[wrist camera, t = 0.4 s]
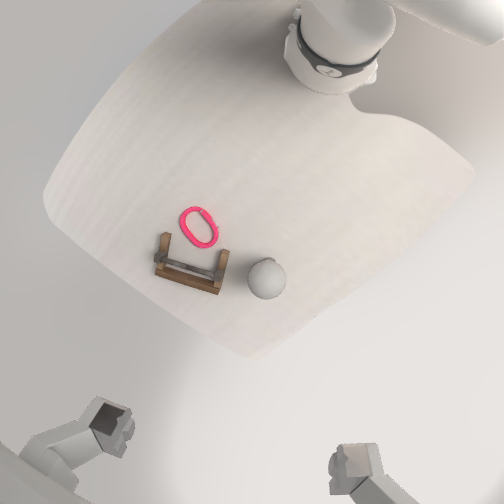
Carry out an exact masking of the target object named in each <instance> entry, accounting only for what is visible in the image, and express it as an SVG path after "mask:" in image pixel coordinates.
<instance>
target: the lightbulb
mask: <svg viewBox="0 0 504 504" xmlns="http://www.w3.org/2000/svg"><path fill="white" fill-rule="evenodd" d="M248 286H249V288H250V290H251V292H252V293H253V294H254V295H255V296H257V297H259V298H261V299H272V298H275V297H277V296H278V295H280V294H281V293H282V292H283V290H284V288H285V286H286V274H285V272H284V270H283V268H282V267H281V266H280V265H279V264H277V263H276V262H275V260H274V259H272V258H266V259H264V260H263V261H261V262H259V263H257V264H256V265H254V266H253V267H252V268H251V270H250V272H249V274H248Z"/></svg>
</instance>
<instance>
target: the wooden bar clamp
mask: <svg viewBox="0 0 504 504" xmlns="http://www.w3.org/2000/svg"><path fill="white" fill-rule="evenodd" d="M170 239H171V234H170V233H167V232H165V233H164V234H162V236H161V242H160V249H159V251H158V252H157V253H156V254H155V257H154V262H156V263H157V269H156V271H155V275H156V276H159V277H162V278H165V279H169V280H172V281H175V282H178V283H181V284H184V285H187V286H190V287H193V288H197V289H200V290H203V291H206V292H209V293H213V294H216V295H218V293H219V291H220V289H221V285H222V281H223V277H224V273H225V269H226V265H227V261H228V257H229V253H230V251H228V250H225V249H223V251H222V252H221V257H220V261H219V265H218V269H217V270H216V272H215V273H213V272H210V271H207V270H204V269H200V268H197V267H194V266H190V265H187V264H184V263H181V262H178V261H174V260H171V259H168V258H167V257H168V251H169V245H170ZM166 263H168V264H171V265H174V266H177V267H180V268H183V269H187V270H190V271H193V272H196V273H199V274H203V275H206V276H209V277H213V278H214V280H213V281H215V282H213V281H210V280H207V279H203V278H200V277H197V276H194V275H191V274H187V273H184V272H181V271H178V270H175V269H172V268H168V267H166Z"/></svg>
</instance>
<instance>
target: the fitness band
mask: <svg viewBox="0 0 504 504" xmlns="http://www.w3.org/2000/svg"><path fill="white" fill-rule="evenodd" d="M192 211H199V212H200V213H201V214H202V216H203V217H204V218H205V219H206V220H207V221H208V222H209V224H210V225H211V227H212V229H213V231H214V238H213V240H212V241H211V242H209V243H202V242H199V241H198V240H197V239H196V238H195V237H194V236H193V234H192V233H191V232H190V231H189V229H188V228H187V226H186V224H185V218H186V216H187V214H188V213H190V212H192ZM180 226H181V229H182V231H183V232H184V233H185V235H186V236H187V237H188V238H189V239H190V241H191V242H192V243H193V244H194V245H196V246H197V247H200V248H209V247H211V246H213V245H214V244H215V243H216V241H217V239H218V229H217V228H218V225H217V224H216V223H215V221H214V220H213V219H212V217H211V216H210V215H209V214H208V213H207V212H206V211H205V210H204V209H202V208H200V207H191V208H189V209H187V210H186V211H185V212H184V213H183V214H182V215H181V218H180Z"/></svg>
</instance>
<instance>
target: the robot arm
mask: <svg viewBox="0 0 504 504" xmlns="http://www.w3.org/2000/svg"><path fill="white" fill-rule="evenodd" d="M298 1H299V3H300V5H301V9H299V8H296V10H295V12H294V14H293V18H294V19H297V20H298V22H297V24H293V23H291V24H290V25H289V28H288V29H289V30H291V31H290V32H289V33H288V35H287V37H286V42H285V50H284V59H285V60H286V62H287V64H288V65H289V67H290V69H291V71H292V73H293V74H294V76H295V77H296V78H297V79H298V80H299V81H300V82H301V83H302V84H303V85H304V86H306V87H307V88H309V89H311V90H313V91H315V92H318V93H321V94H325V95H340V94H344V93H347V92H348V94H350V93H352V92H353V91H355V90H356V89H358V88H359V87H361V86H365V85H371V84H373V83H374V82H375V81H376V77H377V73H376V71H377V67H378V64H376V58H377V56H378V54H379V52H380V49H381V47H382V46H383V45H384V44H385V43H386V41H388V39H389V38H390V37H391V36H392V34H393V32H394V29H395V24H396V19H395V14H394V11H393V8H392V6H393V7H396V8H398V9H400V10H402V11H405V12H407V13H409V14H411V15H413V16H415V17H417V18H419V19H421V20H423V21H425V22H427V23H429V24H431V25H433V26H434V27H436V28H439V29H441V30H444V31H447V32H449V33H451V34H454V35H456V36H459V37H461V38H463V39H466V40H468V41H470V42H473V43H475V44H477V45H480V46H488V45H493V44H496V43H499V42H501V41H503V40H504V0H298ZM131 415H132V412H131V409H130V408H127V407H124V406H121V405H119V404H116V403H113V402H111V401H109V400H106V399H104V398H101V397H99V396H96V397H95V398H94V399H93V400H92V401H91V403H90V404H89V406H88V407H87V409H86V410H85V411H84V413H83V414H82V415H81V417H80V418H79V420H78V421H72V422H69V423H67V424H64V425H62V426H59V427H56V428H54V429H51V430H48V431H46V432H43V433H40V434H37V435H34V436H33V437H32V438H31V439H30V440H29V442H28V443H27V445H26V446H25V447H24V448H23V450H22V451H21V453H20V454H19V455H18V456H17V455H16V454H15V453H13V452H12V451H11V450H10V449H8V448H7V447H6V446H5V445H4V444H3V443H1V442H0V504H94V503H92V502H90V501H88V500H86V499H84V498H82V497H80V496H78V495H76V494H75V493H73V492H74V490H75V488H76V487H77V485H78V483H79V479H78V478H77V476H76V475H75V474H74V473H73V472H72V471H71V470H73V469H75V468H77V467H79V466H80V465H82V464H84V463H86V462H87V461H89V460H91V459H93V458H94V457H96V456H98V455H99V454H101V453H103V451H104V452H106V453H108V454H111V455H114V456H116V457H119V458H122V455H123V454H124V452H125V450H126V448H127V446H126V441H128V440H130V439H131V438H132V436H133V433H134V429H135V422H134V420H133V419H132V418H131V417H130V416H131ZM328 469H329V474H330V475H331V476H332V477H333V478H332V479H331V480H330V482H329V487H330V495H346V494H350V497H351V498H352V499H353V501H354V502H355V503H356V504H419V503H418V502H417V501H416V500H415V499H413V498H412V497H411V496H410V495H409V494H408V493H407V492H406V491H405V490H404V489H402V488H401V487H400V486H399V485H398V484H397V483H396V482H395V481H393V479H392V478H391V477H389V475H384V471H383V466H382V462H381V457H380V453H379V449H378V445H377V444H376V443H359V444H358V443H357V444H341V445H339V446H338V447H337V452H336V453H334V454H332V456H331V458H330V461H329V467H328Z"/></svg>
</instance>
